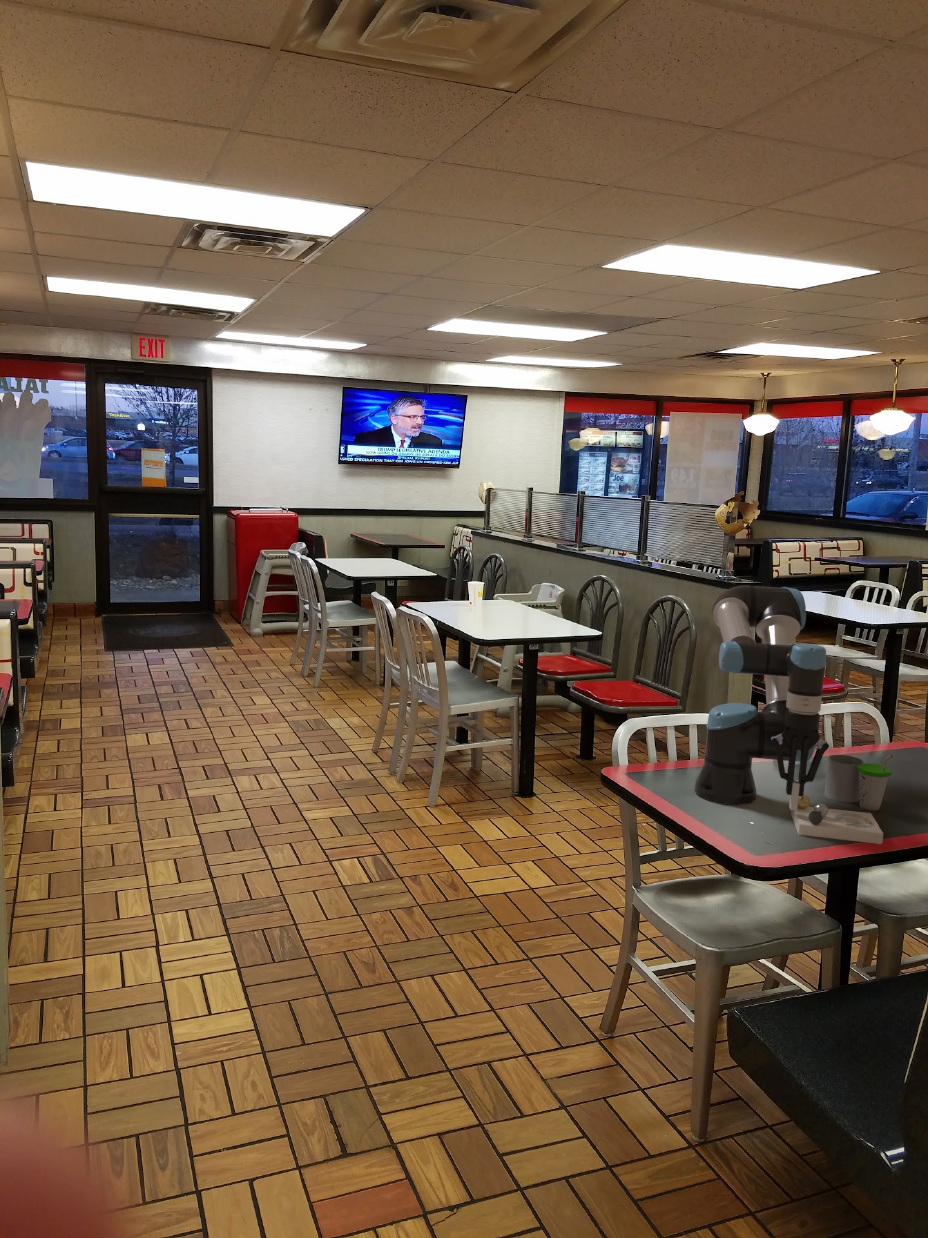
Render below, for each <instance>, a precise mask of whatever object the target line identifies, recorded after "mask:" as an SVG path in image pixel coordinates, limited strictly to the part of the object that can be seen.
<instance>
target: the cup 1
mask: <svg viewBox="0 0 928 1238" xmlns="http://www.w3.org/2000/svg"><path fill="white" fill-rule="evenodd" d="M859 764H865V763H864V760H863V759H860V758H859V757H855V756H851V755H845V754H831V755H829V756H828V758H827V769H826V777H825V785H824V796H825V797H826V798H828V799H830V800H832V801H835V802H840V803H848V804H849V803H857V802H859V772H858V770H857V765H859Z"/></svg>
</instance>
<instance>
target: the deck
mask: <svg viewBox="0 0 928 1238" xmlns="http://www.w3.org/2000/svg"><path fill="white" fill-rule="evenodd" d="M814 807H815V806H808V807H807V808H804V809H802V808H799V807H798V806H797V810H790V816H791V817H792V821H793V823H794V826H795V829H796V832H797V834H798V835H800V836H808V837H815V838H825V839H834V840H842V841H851V842H859V843H868V844H869V843H870V844H878V845H883V839H884V832H883V830H882V829H881V828H880V826H879V824H878V823H877V820H876V819H875V817H874V816H873V814H872V813H871V812H862V811H855V810H854V811H853V810H844V809H835V808H834V809H833V808H828V814H827V815H826V816H825V817H822V821H821V822H820V823H819V824H813V823H811V822H810V821H809V818H808V816H809V814H810V813H811V812H812V811H814Z"/></svg>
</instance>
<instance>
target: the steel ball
mask: <svg viewBox="0 0 928 1238" xmlns="http://www.w3.org/2000/svg"><path fill="white" fill-rule="evenodd" d="M813 807H814V811H818V812H820V813H821V815H822V817H825V816H826V815H827V814H828V809H829V808H828V806H827V805H826V804H824V803H817V804H816V805H814V806H813Z"/></svg>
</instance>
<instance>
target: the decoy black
mask: <svg viewBox="0 0 928 1238" xmlns="http://www.w3.org/2000/svg"><path fill="white" fill-rule="evenodd" d="M808 818H809V821H810V822H811V823H813V824H819V823H820V822H821V821H822V815H821V813H820V812H818V811H812V812H811V813H810V814H809V816H808Z"/></svg>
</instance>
